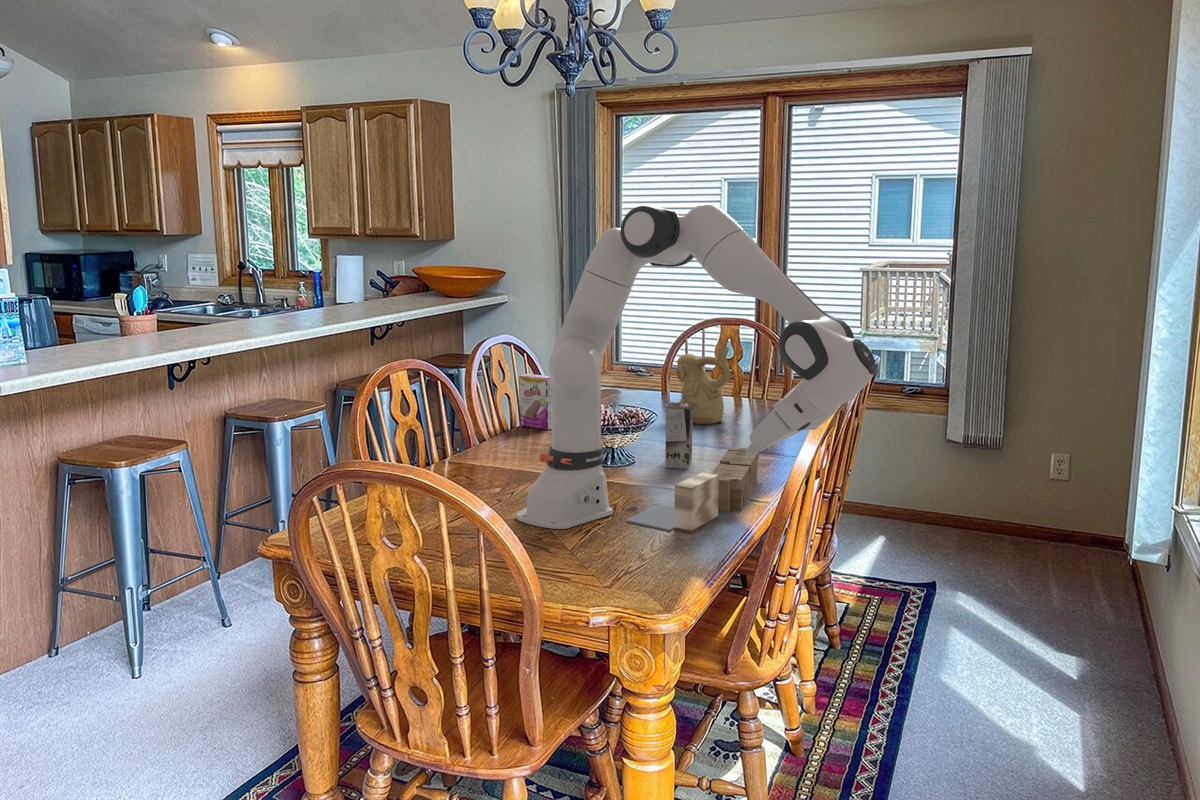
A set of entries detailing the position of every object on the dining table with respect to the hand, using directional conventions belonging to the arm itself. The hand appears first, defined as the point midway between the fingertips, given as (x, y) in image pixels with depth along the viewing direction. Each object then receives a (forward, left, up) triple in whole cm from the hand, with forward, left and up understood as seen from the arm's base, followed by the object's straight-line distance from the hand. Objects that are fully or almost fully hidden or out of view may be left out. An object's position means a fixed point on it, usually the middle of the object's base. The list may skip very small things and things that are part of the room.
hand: (758, 449), depth 186 cm
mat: (0, +22, -18) cm, 29 cm away
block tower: (+25, +18, -19) cm, 36 cm away
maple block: (0, +14, -19) cm, 23 cm away
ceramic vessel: (+92, +63, -19) cm, 113 cm away
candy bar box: (+55, +101, -19) cm, 116 cm away
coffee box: (+41, +42, -19) cm, 61 cm away
